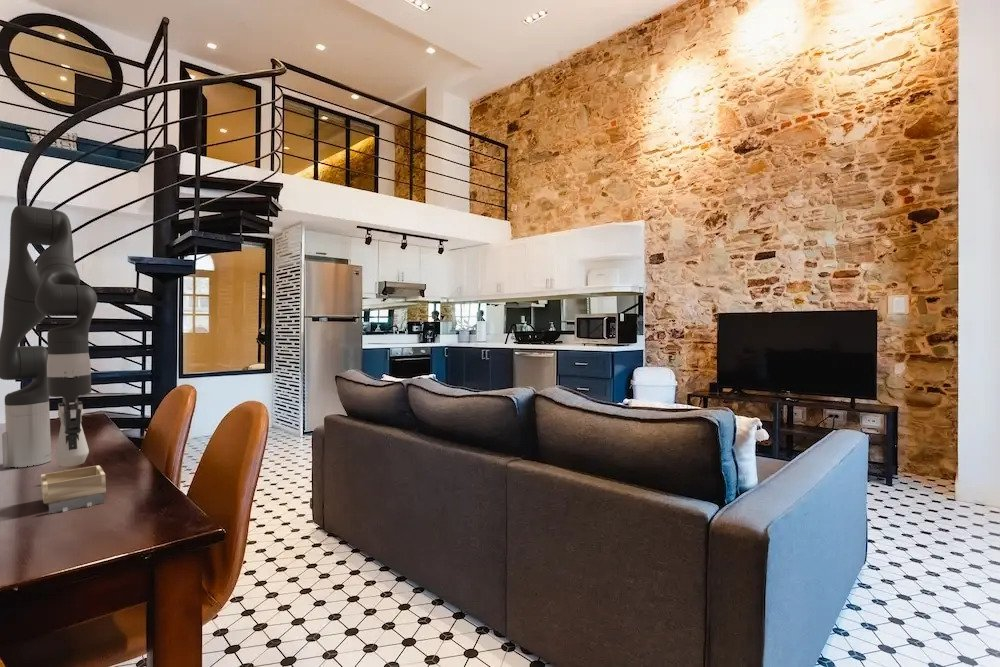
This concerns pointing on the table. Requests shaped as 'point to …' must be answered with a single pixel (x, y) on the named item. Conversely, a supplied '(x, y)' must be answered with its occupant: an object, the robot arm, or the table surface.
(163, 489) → the table surface
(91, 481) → the wooden tray
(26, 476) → the table surface
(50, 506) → the rail
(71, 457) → the salt shaker
